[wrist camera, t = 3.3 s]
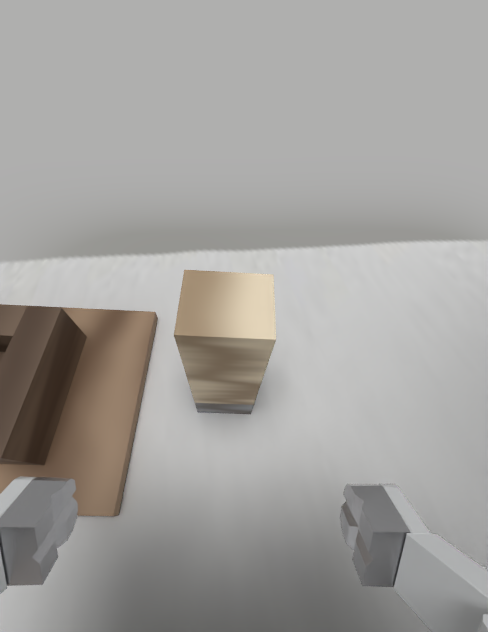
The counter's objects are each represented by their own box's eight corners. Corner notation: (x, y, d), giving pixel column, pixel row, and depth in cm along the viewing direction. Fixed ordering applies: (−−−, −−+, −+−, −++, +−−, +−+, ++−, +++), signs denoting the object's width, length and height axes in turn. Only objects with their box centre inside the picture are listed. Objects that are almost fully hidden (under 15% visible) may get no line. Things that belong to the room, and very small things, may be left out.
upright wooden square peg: (250, 373, 27) (273, 274, 15) (250, 414, 25) (275, 339, 13) (201, 371, 26) (184, 269, 15) (197, 412, 25) (173, 334, 13)
